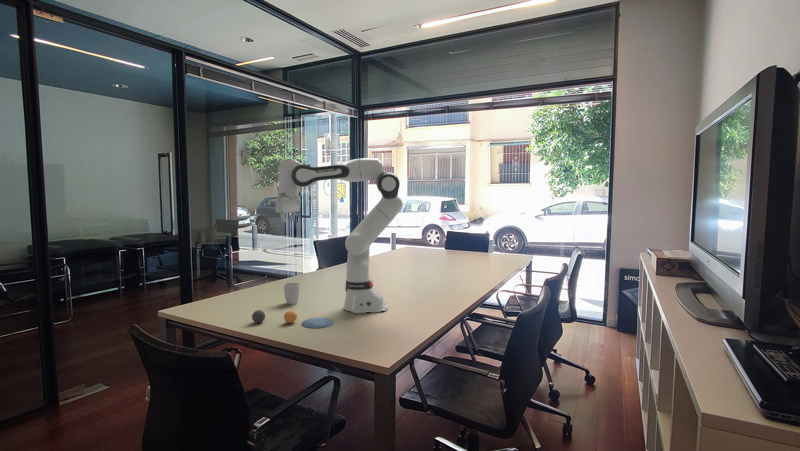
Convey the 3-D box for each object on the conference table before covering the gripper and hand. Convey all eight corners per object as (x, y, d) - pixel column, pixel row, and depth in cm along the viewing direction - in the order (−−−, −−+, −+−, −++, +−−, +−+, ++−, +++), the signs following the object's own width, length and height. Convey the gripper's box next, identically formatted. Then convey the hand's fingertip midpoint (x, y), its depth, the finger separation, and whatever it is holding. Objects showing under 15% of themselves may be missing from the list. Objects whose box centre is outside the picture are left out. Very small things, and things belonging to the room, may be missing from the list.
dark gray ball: (266, 320, 177) (266, 308, 176) (262, 324, 171) (262, 312, 171) (254, 320, 176) (254, 308, 176) (250, 324, 171) (249, 312, 171)
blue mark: (335, 318, 181) (335, 317, 181) (330, 328, 167) (330, 328, 167) (305, 318, 181) (305, 317, 181) (298, 328, 167) (297, 327, 167)
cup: (303, 302, 208) (302, 283, 208) (294, 306, 201) (294, 286, 200) (289, 300, 211) (289, 282, 210) (280, 304, 203) (280, 285, 203)
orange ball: (298, 320, 177) (298, 309, 176) (295, 324, 171) (295, 312, 171) (285, 320, 177) (285, 308, 176) (282, 324, 171) (282, 312, 171)
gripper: (284, 192, 179) (284, 223, 180) (302, 193, 200) (302, 220, 201) (271, 192, 180) (271, 222, 181) (291, 193, 201) (290, 220, 202)
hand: (288, 221), depth 191 cm, fingers open, 8 cm apart
